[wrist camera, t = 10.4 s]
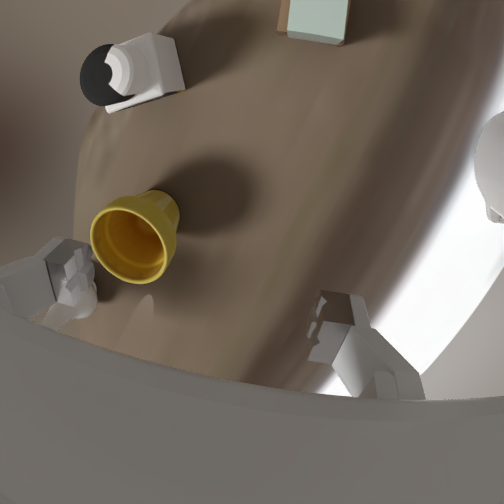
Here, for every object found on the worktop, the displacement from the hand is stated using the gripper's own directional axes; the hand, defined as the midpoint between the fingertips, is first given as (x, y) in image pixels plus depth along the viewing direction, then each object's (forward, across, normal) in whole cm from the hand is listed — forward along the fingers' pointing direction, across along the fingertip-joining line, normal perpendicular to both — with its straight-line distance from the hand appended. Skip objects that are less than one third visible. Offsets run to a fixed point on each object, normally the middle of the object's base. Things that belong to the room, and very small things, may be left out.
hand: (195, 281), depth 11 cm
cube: (+26, -3, -14) cm, 30 cm away
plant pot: (+29, +13, +13) cm, 35 cm away
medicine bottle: (+29, +14, -6) cm, 33 cm away
